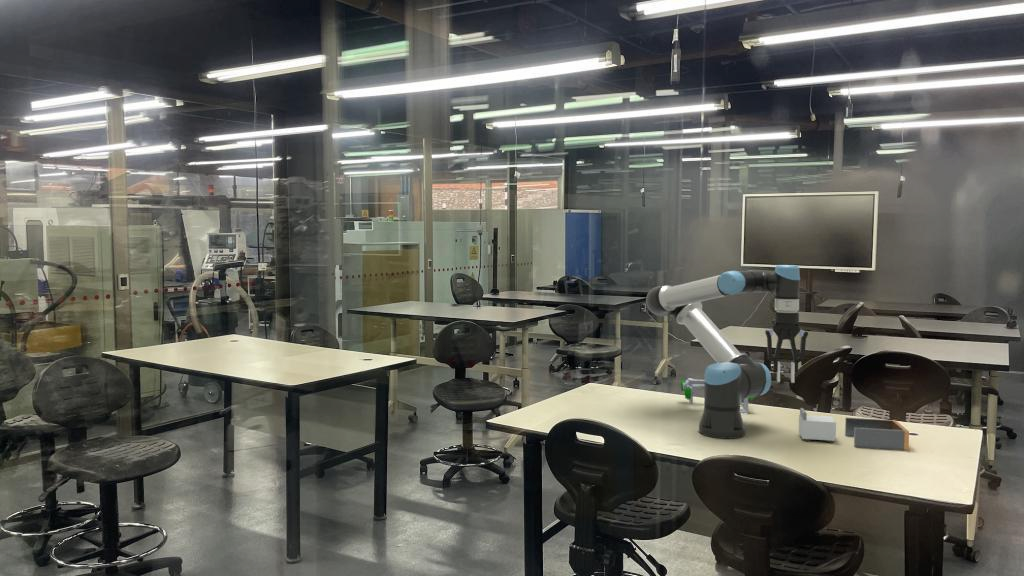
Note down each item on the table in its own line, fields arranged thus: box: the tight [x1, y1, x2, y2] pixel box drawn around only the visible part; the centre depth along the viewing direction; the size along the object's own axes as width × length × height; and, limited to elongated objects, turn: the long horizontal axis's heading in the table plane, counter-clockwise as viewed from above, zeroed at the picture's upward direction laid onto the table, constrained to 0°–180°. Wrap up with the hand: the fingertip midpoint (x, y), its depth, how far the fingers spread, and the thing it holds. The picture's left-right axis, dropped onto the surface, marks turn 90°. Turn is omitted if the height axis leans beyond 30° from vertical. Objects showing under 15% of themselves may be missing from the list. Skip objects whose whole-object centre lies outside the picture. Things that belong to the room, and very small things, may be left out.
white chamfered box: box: [798, 407, 837, 444], centre depth 224 cm, size 10×8×9 cm
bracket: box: [680, 377, 755, 414], centre depth 269 cm, size 19×25×10 cm
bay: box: [844, 417, 910, 452], centre depth 220 cm, size 15×14×6 cm
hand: (785, 381), depth 226 cm, fingers open, 4 cm apart
